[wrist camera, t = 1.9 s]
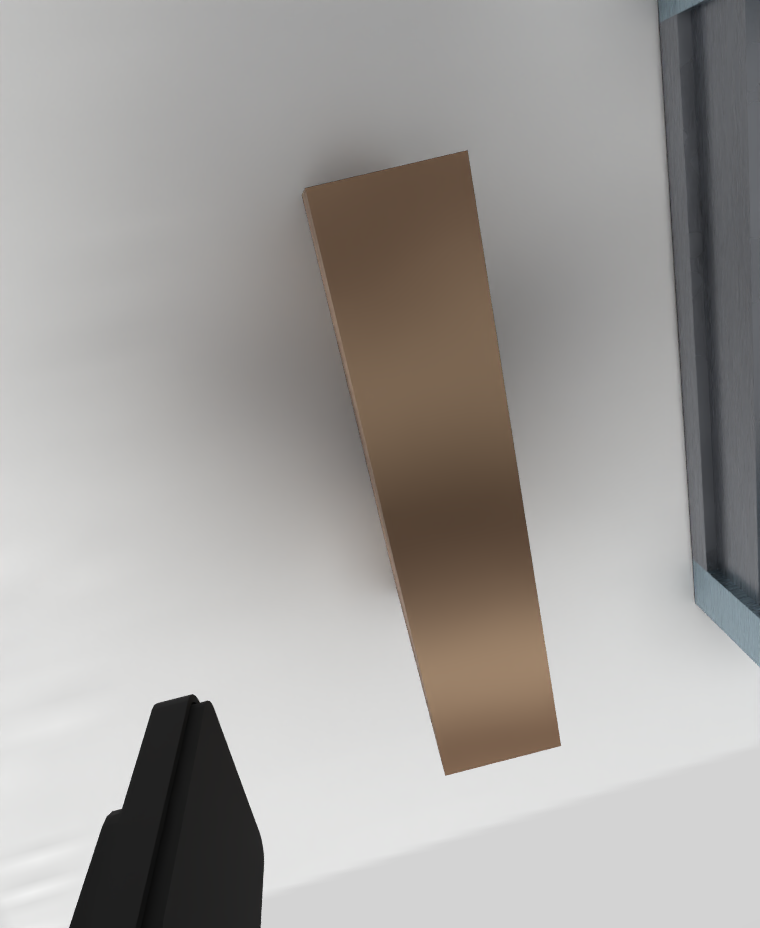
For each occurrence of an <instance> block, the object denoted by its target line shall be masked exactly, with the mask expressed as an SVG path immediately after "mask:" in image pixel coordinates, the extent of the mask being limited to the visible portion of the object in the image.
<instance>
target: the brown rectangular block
mask: <svg viewBox="0 0 760 928" xmlns="http://www.w3.org/2000/svg"><path fill="white" fill-rule="evenodd" d="M302 198H303V202H304V206H305V210H306V214H307V218H308V222H309V227H310V231H311V235H312V239H313V243H314V247H315V251H316V256H317V260H318V264H319V268H320V272H321V276H322V281H323V285H324V289H325V293H326V297H327V301H328V305H329V310H330V314H331V318H332V322H333V326H334V330H335V334H336V339H337V343H338V347H339V351H340V355H341V359H342V364H343V368H344V372H345V376H346V380H347V384H348V388H349V393H350V397H351V401H352V405H353V409H354V413H355V417H356V422H357V426H358V430H359V434H360V438H361V442H362V447H363V451H364V455H365V459H366V463H367V467H368V471H369V476H370V480H371V484H372V488H373V492H374V496H375V500H376V505H377V509H378V513H379V517H380V521H381V525H382V529H383V534H384V538H385V542H386V546H387V550H388V554H389V559H390V563H391V567H392V571H393V575H394V579H395V583H396V588H397V592H398V596H399V599H400V603H401V607H402V611H403V615H404V619H405V623H406V626H407V630H408V634H409V638H410V642H411V646H412V649H413V653H414V657H415V661H416V665H417V669H418V672H419V676H420V680H421V684H422V688H423V692H424V696H425V699H426V703H427V707H428V711H429V715H430V719H431V722H432V726H433V730H434V734H435V738H436V742H437V745H438V749H439V753H440V757H441V761H442V765H443V769H444V772H445V776H446V775H450V774H454V773H457V772H461V771H465V770H469V769H473V768H477V767H481V766H485V765H488V764H492V763H496V762H500V761H504V760H508V759H512V758H516V757H519V756H523V755H527V754H531V753H535V752H539V751H543V750H547V749H550V748H554V747H558V746H561V743H560V736H559V730H558V724H557V717H556V711H555V705H554V698H553V692H552V685H551V679H550V673H549V666H548V660H547V654H546V647H545V641H544V634H543V628H542V622H541V615H540V609H539V603H538V596H537V590H536V583H535V577H534V571H533V564H532V558H531V552H530V545H529V539H528V532H527V526H526V520H525V513H524V507H523V501H522V494H521V488H520V481H519V475H518V469H517V462H516V456H515V450H514V443H513V437H512V430H511V424H510V418H509V411H508V405H507V399H506V392H505V386H504V379H503V373H502V367H501V360H500V354H499V348H498V341H497V335H496V328H495V322H494V316H493V309H492V303H491V297H490V290H489V284H488V277H487V271H486V265H485V258H484V252H483V246H482V239H481V233H480V226H479V220H478V214H477V207H476V201H475V195H474V188H473V182H472V175H471V169H470V163H469V156H468V150H467V151H462V152H458V153H454V154H449V155H445V156H441V157H437V158H432V159H428V160H424V161H419V162H415V163H411V164H407V165H402V166H398V167H394V168H389V169H385V170H381V171H377V172H372V173H368V174H364V175H359V176H355V177H351V178H346V179H342V180H338V181H334V182H329V183H325V184H321V185H316V186H312V187H308V188H305V189H304V192H303V194H302Z"/></svg>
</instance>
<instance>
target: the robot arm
mask: <svg viewBox="0 0 760 928" xmlns="http://www.w3.org/2000/svg"><path fill="white" fill-rule="evenodd" d="M263 872H264V852H263V845H262V840H261V836H260V833H259V830H258V827H257V824H256V822H255V819H254V816H253V814H252V811H251V808H250V805H249V803H248V800H247V797H246V794H245V792H244V789H243V786H242V784H241V781H240V778H239V775H238V773H237V770H236V767H235V764H234V762H233V759H232V756H231V753H230V751H229V748H228V745H227V743H226V740H225V737H224V734H223V732H222V729H221V726H220V723H219V721H218V718H217V715H216V713H215V710H214V707H213V705H212V703H211V702H210V701H205V702H201V703H200V702H199V700H198V698H197V697H196V696H195V695H193V694H192V695H188V696H184V697H180V698H176V699H172V700H168V701H164V702H160V703H157V704H155V705H154V707H153V709H152V712H151V715H150V718H149V722H148V725H147V728H146V731H145V735H144V738H143V741H142V745H141V748H140V751H139V755H138V758H137V761H136V765H135V768H134V771H133V774H132V778H131V781H130V784H129V788H128V791H127V794H126V798H125V801H124V804H123V807H122V809H120V810H116V811H112V812H111V813H110V814H109V815H108V816H107V817H106V820H105V822H104V824H103V826H102V829H101V832H100V835H99V838H98V841H97V844H96V847H95V850H94V853H93V856H92V860H91V863H90V866H89V869H88V872H87V875H86V878H85V881H84V884H83V887H82V890H81V893H80V896H79V899H78V902H77V905H76V908H75V912H74V915H73V918H72V921H71V924H70V927H69V928H261V927H260V926H261V909H262V908H261V907H262V891H263Z"/></svg>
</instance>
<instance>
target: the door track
mask: <svg viewBox="0 0 760 928" xmlns="http://www.w3.org/2000/svg"><path fill="white" fill-rule="evenodd" d="M658 6H659V23H660V39H661V55H662V71H663V87H664V103H665V120H666V136H667V152H668V168H669V184H670V200H671V217H672V233H673V249H674V265H675V281H676V297H677V314H678V330H679V346H680V362H681V378H682V394H683V411H684V427H685V443H686V459H687V475H688V491H689V508H690V524H691V540H692V556H693V572H694V588H695V603H696V604H697V605H698V606H699V607H700V608H701V609H702V610H703V611H704V612H705V613H706V614H707V615H708V616H709V617H710V618H711V619H712V620H713V621H714V622H715V623H716V624H717V625H718V626H719V627H720V628H721V629H722V630H723V631H724V632H725V633H726V634H727V635H728V636H729V637H730V638H731V639H732V640H733V641H734V642H735V643H736V644H737V645H738V646H739V647H740V648H741V649H742V650H743V651H744V652H745V653H746V654H747V655H748V656H749V657H750V658H751V659H752V660H753V661H754V662H755V663H756V664H757V665H758V666H759V667H760V0H658Z"/></svg>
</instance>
